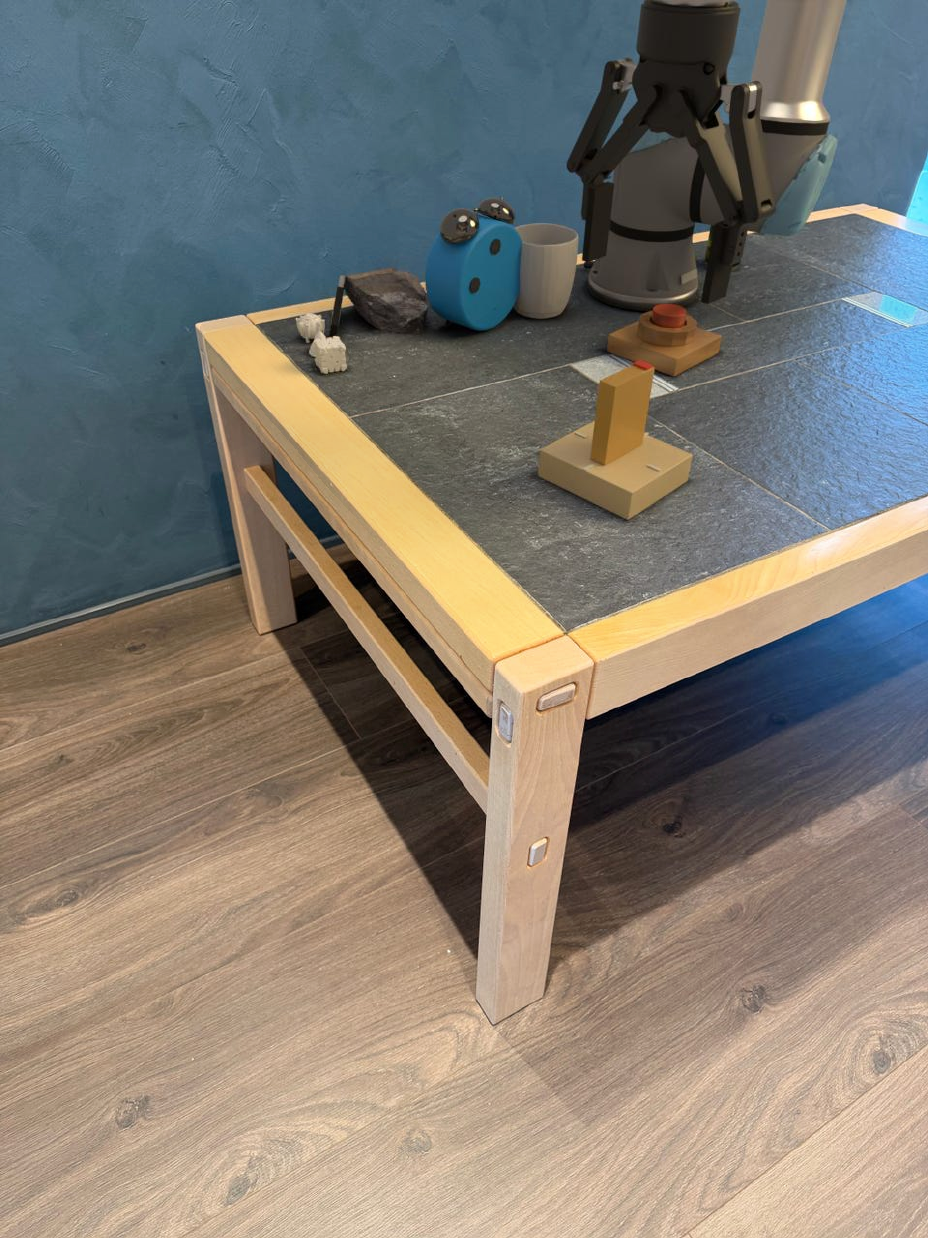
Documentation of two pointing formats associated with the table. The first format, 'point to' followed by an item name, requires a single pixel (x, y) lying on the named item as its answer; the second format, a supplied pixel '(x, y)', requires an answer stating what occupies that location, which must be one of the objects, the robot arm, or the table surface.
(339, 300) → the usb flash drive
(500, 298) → the alarm clock
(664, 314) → the button
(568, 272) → the mug
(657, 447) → the panel
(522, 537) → the table surface
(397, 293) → the rock
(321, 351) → the game pieces
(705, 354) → the button block
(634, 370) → the lock knob
